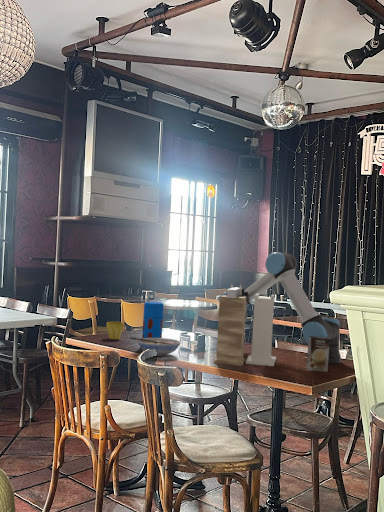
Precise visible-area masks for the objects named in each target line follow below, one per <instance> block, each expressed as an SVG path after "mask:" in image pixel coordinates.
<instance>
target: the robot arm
mask: <svg viewBox="0 0 384 512" xmlns="http://www.w3.org/2000/svg"><path fill="white" fill-rule="evenodd" d="M297 264H298V263H297V259H296V257H295V256H294V255H293V254H290V253H286V252H280V251H276V252H272V253H270V254H269V255H268V256H267V258H266V260H265V270H266V271H267V272H266V273H265V274H264V275H263V276H261V277H260V278H258V279H257V280H256V281H255V282H253V283H252V284H251V285H250V286H248V287H246V289H243V287H242V284H239V288H240V295H241V297H246V308H248V306H250V305H251V302H253V301H255V295H256V294H257V293H258V294H259V296H261V295H262V294H263V293H264V292H266V291H267V290H269V288H271V287H273V286H274V285H275V284H276V283H278V282H279V283H280V284H281V286H282V288H283V290H284V291H285V293H286V295H287V296H288V298H289V300H290V302H291V304H292V307H294V310H295V311H296V313H297V314H298V317H299V318H300V320H301V321H300V322H301V323H300V325H301V328H302V336H303V338H304V340H305V341H306V342H307V343H308V339H309V336H314V337H326V338H329V339H330V342H329V356H328V364H330V365H331V364H332V365H333V364H335V365H336V364H338V365H339V364H341V363H342V357H341V352H340V349H339V346H340V345H339V343H340V329H341V328H340V327H341V323H340V320H339V319H334V318H328V317H323V316H322V315H321V314H320V313H318V312H316V310H315V308H314V307H313V304H312V303H311V301H310V299H309V298H308V296H307V293H306V292H305V290H304V289H303V287H302V285H301V283H300V282H299V280H298V278H297V276H296V274H295V273H296V269H297ZM233 287H234V285H233V283H231V284H230V287H229V288H228V289H230V288H233ZM223 295H226V296H227V291H225V292H223V293H222V294H221V295H220V296H223ZM220 296H219V298H218V302H219V303H220ZM247 319H248V313H247V310H246V314H245V322H246V321H247Z"/></svg>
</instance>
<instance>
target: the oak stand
mask: <svg viewBox="0 0 384 512" xmlns="http://www.w3.org/2000/svg"><path fill="white" fill-rule="evenodd" d="M219 297H220V302H219V307H218V322H217V323H218V324H217V341H216V357H215V358H214V360H213V364H216V365H227V366H238V367H239V366H240V367H242V366H244V363H246V358H245V357H244V347H245V346H244V345H245V331H246V330H245V328H246V326H245V325H246V321H245V314H246V311H247V307H246V297H241V296H238V297H236V298H227V296H226V295H223V296H221V295H219Z"/></svg>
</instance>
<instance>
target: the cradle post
mask: <svg viewBox="0 0 384 512" xmlns="http://www.w3.org/2000/svg"><path fill="white" fill-rule="evenodd" d="M253 301H254V302H253V303H254V304H253V305H254V306H253V307H254V308H253V322H252V335H251V336H252V340H251V354H248V356H247V358H245V364H246V365H256V366H266V365H267V366H268V367H274V366H275V363H276V359H277V356H272V347H273V346H272V342H273V328H274V309H275V307H274V306H275V294H271V295H270V296H261V295H259V294H258V293H257V294H256V295H255V299H254V300H253ZM267 366H266V367H267Z"/></svg>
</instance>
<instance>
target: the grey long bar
mask: <svg viewBox="0 0 384 512" xmlns="http://www.w3.org/2000/svg"><path fill="white" fill-rule="evenodd" d="M229 288H230V289H229ZM229 288H227V289H226V292H227V298H236V297H238V296H241V295H240V287H236V286H235V287H234V286H233V288H231V287H229Z"/></svg>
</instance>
